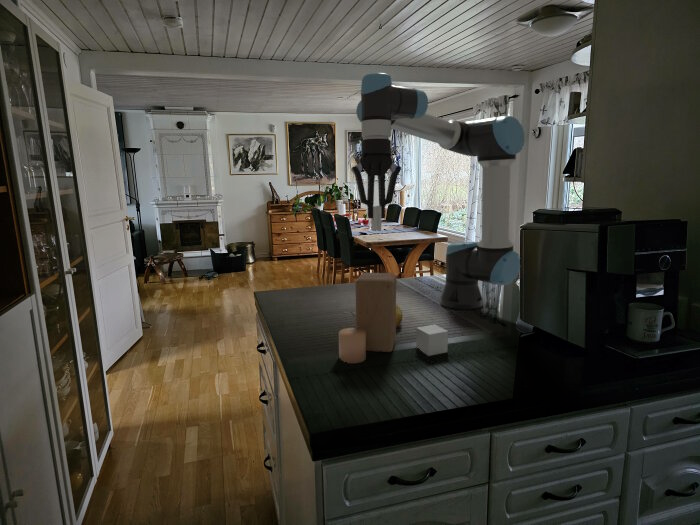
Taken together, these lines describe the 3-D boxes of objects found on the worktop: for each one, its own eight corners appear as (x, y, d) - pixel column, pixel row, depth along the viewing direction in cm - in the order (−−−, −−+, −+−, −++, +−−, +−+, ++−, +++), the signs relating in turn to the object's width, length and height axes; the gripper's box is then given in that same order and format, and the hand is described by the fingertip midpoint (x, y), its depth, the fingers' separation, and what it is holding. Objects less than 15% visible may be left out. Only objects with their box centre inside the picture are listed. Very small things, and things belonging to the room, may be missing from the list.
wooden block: (392, 353, 115) (392, 280, 112) (355, 351, 117) (354, 279, 114) (395, 340, 125) (396, 272, 121) (361, 338, 127) (361, 271, 123)
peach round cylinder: (363, 351, 117) (362, 327, 116) (368, 362, 110) (368, 336, 109) (337, 353, 116) (337, 328, 115) (341, 364, 109) (340, 338, 108)
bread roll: (379, 317, 147) (379, 294, 145) (407, 319, 144) (407, 296, 142) (368, 329, 135) (368, 304, 133) (398, 332, 132) (398, 307, 130)
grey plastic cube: (434, 344, 121) (434, 324, 120) (447, 352, 116) (448, 331, 115) (416, 348, 119) (416, 327, 118) (428, 356, 114) (429, 334, 112)
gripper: (398, 140, 115) (397, 228, 120) (347, 140, 113) (348, 229, 118) (406, 137, 108) (405, 231, 112) (352, 137, 106) (353, 233, 110)
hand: (376, 230), depth 115 cm, fingers closed
